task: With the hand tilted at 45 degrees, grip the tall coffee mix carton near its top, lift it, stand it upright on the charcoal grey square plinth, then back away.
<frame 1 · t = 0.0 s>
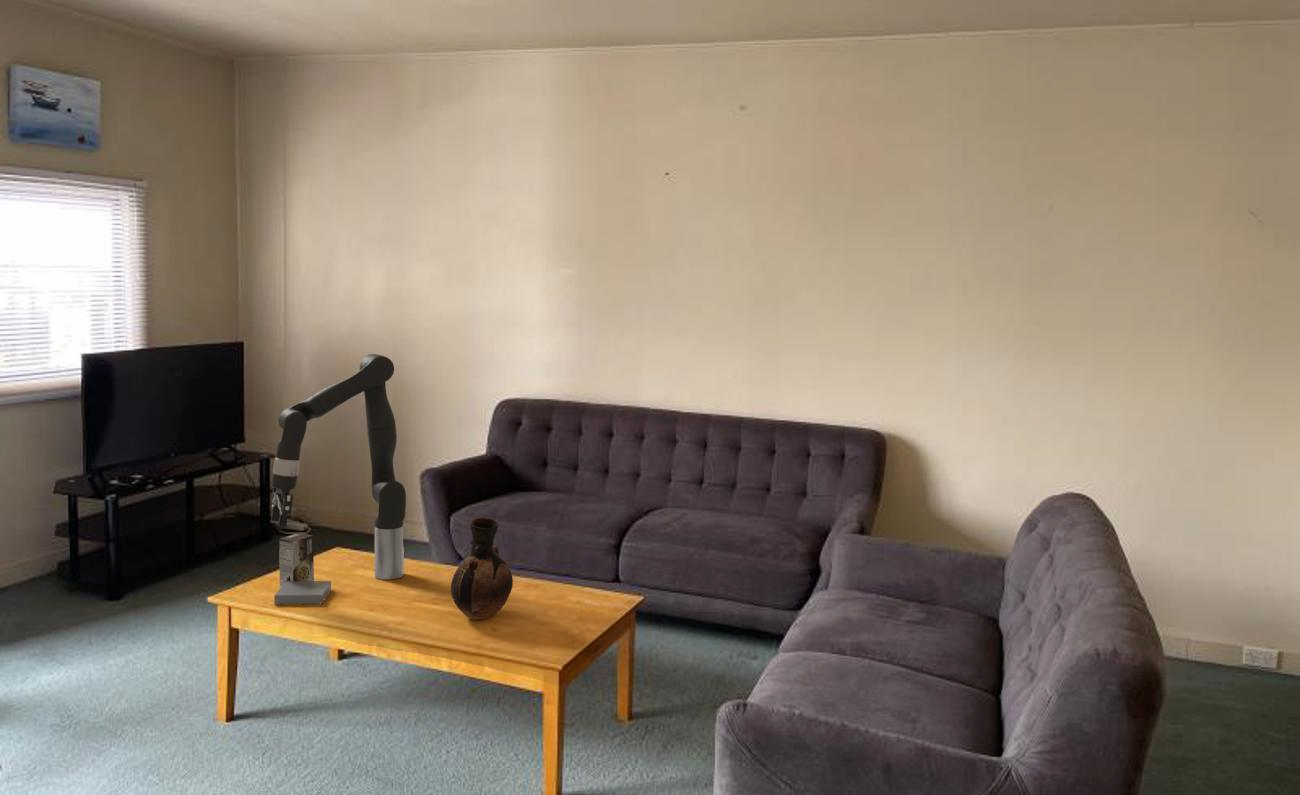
hand: (278, 523, 305), 22 cm above the table, tool pointing down, fingers open, 8 cm apart
plinth: (303, 597, 304), on the table
coffee box: (296, 585, 316), on the table
ceramic vessel: (481, 616, 292), on the table
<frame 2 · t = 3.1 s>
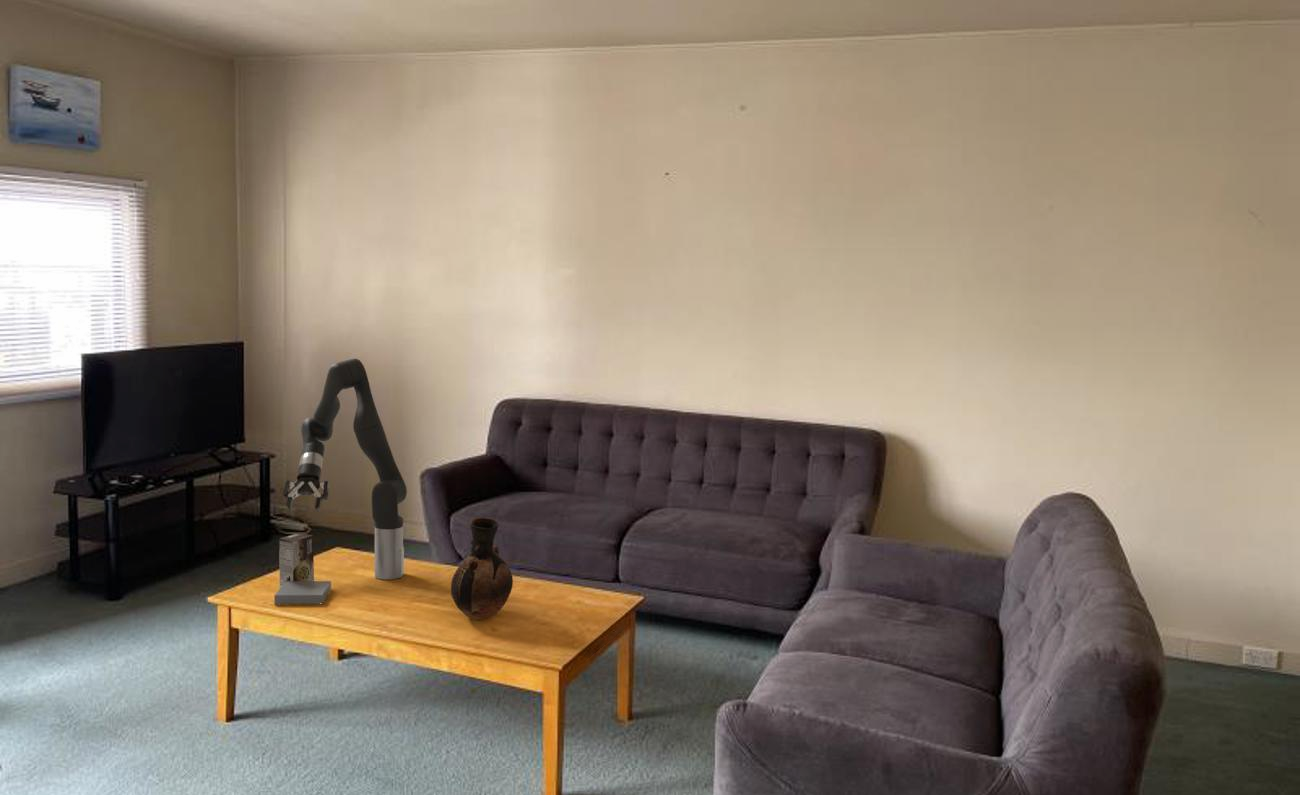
hand: (303, 508, 323), 23 cm above the table, tool tilted 45°, fingers open, 8 cm apart
nothing on the table moved.
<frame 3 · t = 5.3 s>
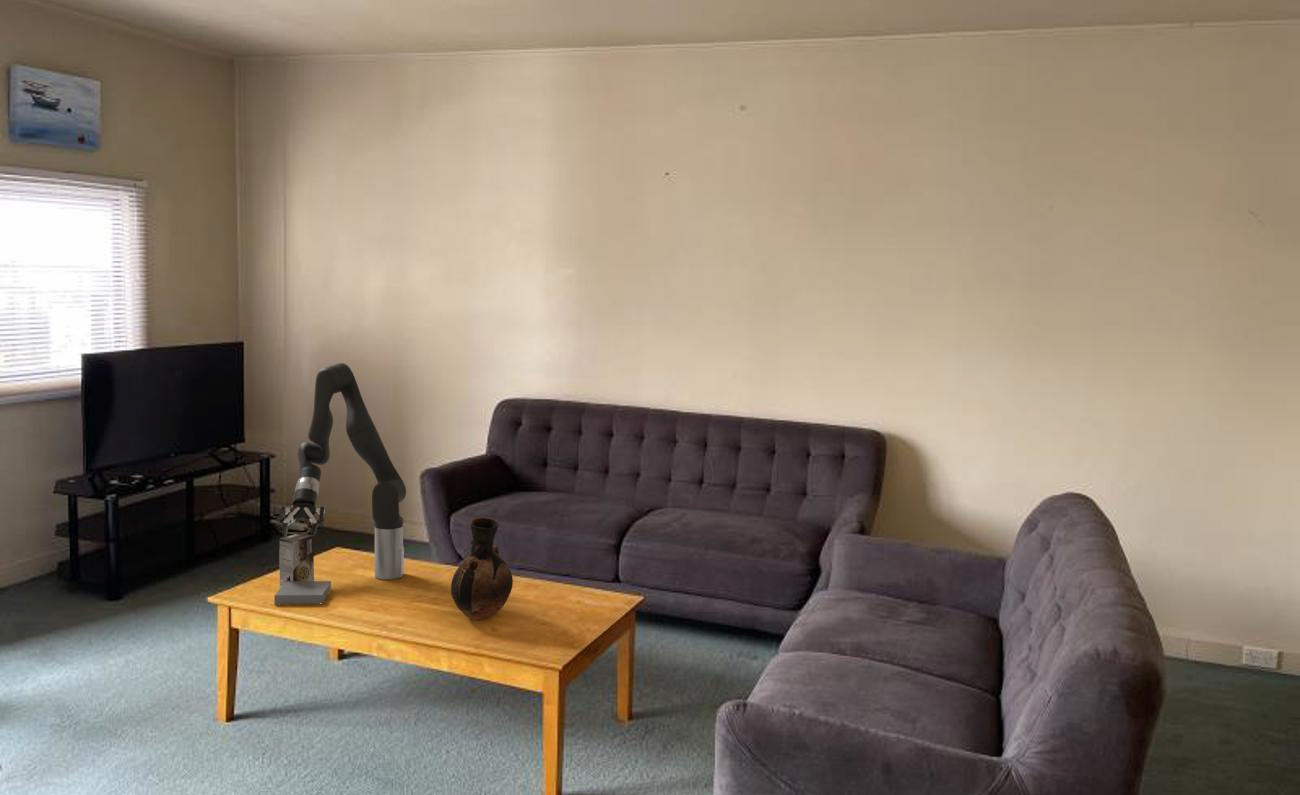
hand: (298, 535, 317), 16 cm above the table, tool tilted 45°, fingers open, 8 cm apart
coffee box: (296, 585, 316), on the table, touching gripper
everything else where it was.
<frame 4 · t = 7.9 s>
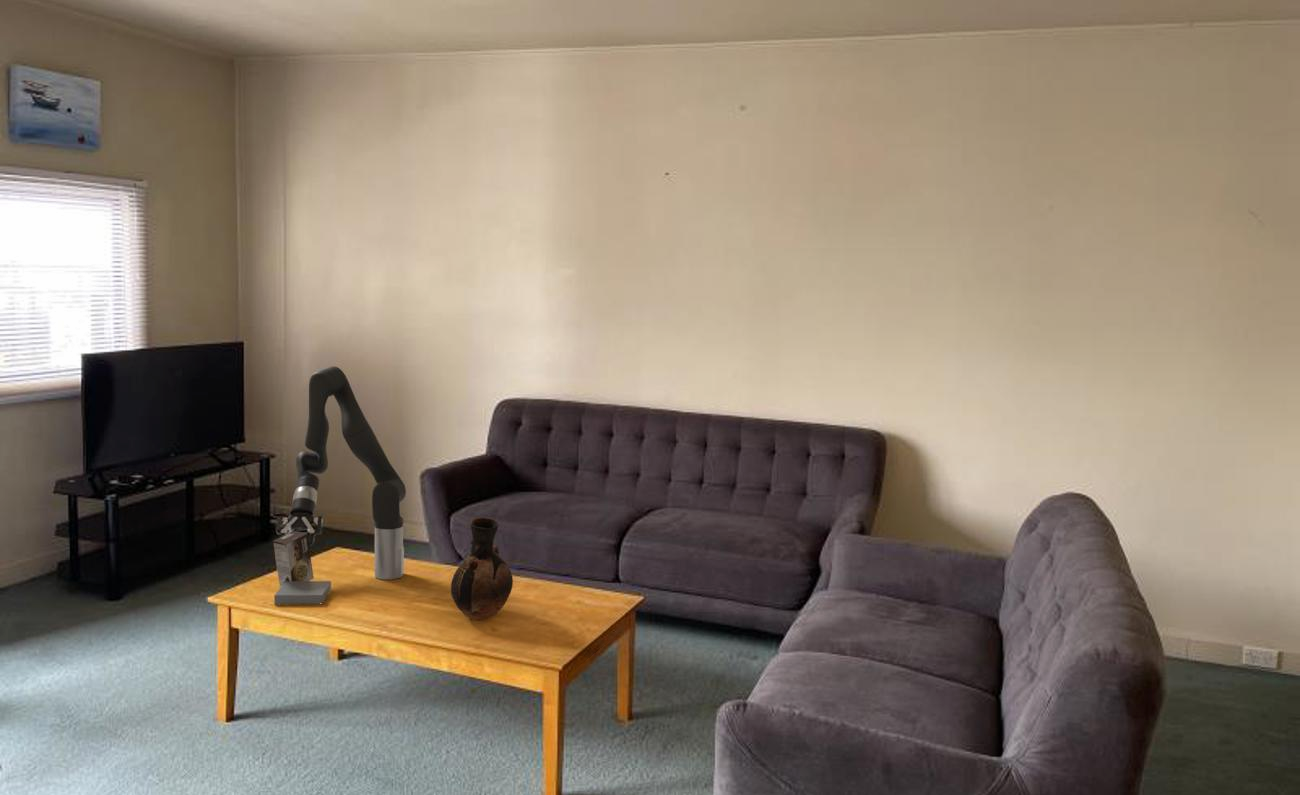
hand: (296, 545, 314), 13 cm above the table, tool tilted 45°, fingers closed on coffee box, 8 cm apart
coffee box: (296, 583, 316), on the table, touching gripper
everything else where it was.
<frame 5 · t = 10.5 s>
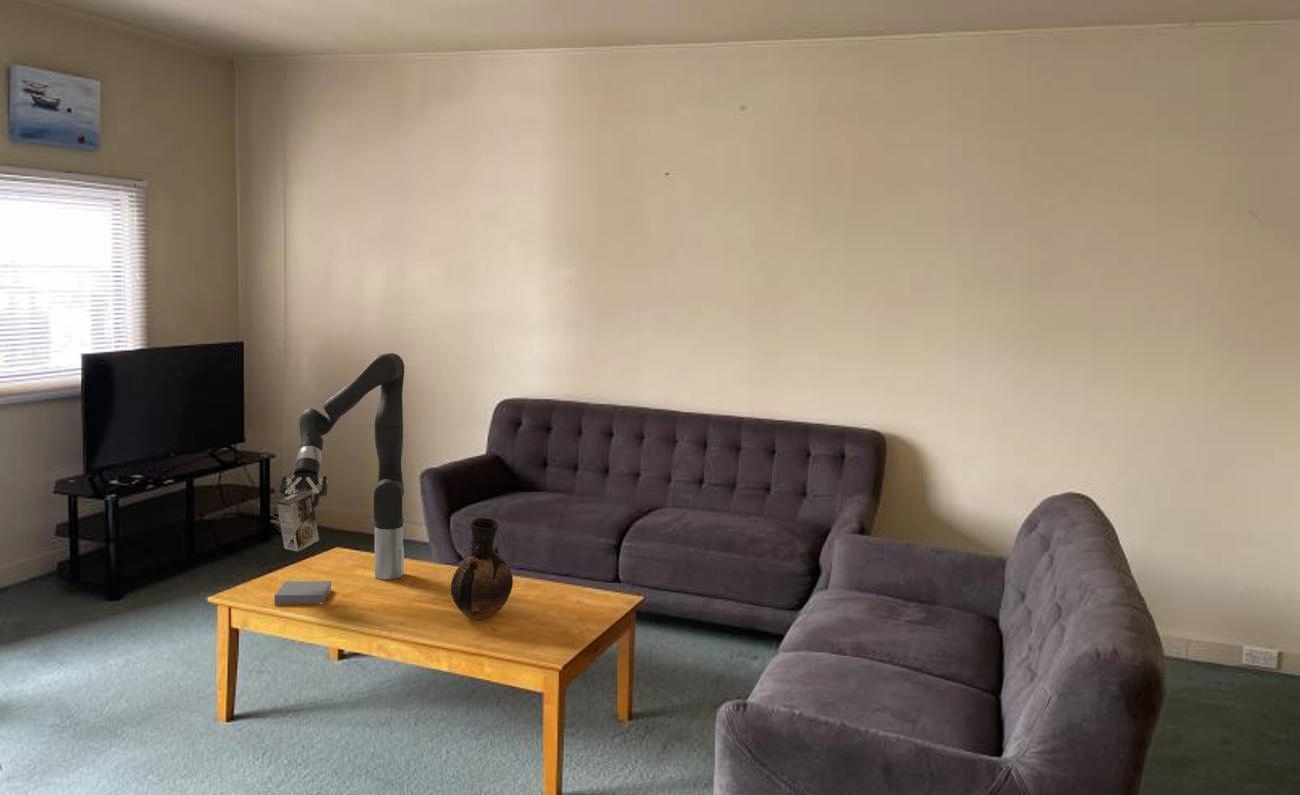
hand: (300, 506, 305), 28 cm above the table, tool tilted 45°, fingers closed on coffee box, 8 cm apart
coffee box: (302, 545, 306), point 15 cm above the table, touching gripper
everything else where it was.
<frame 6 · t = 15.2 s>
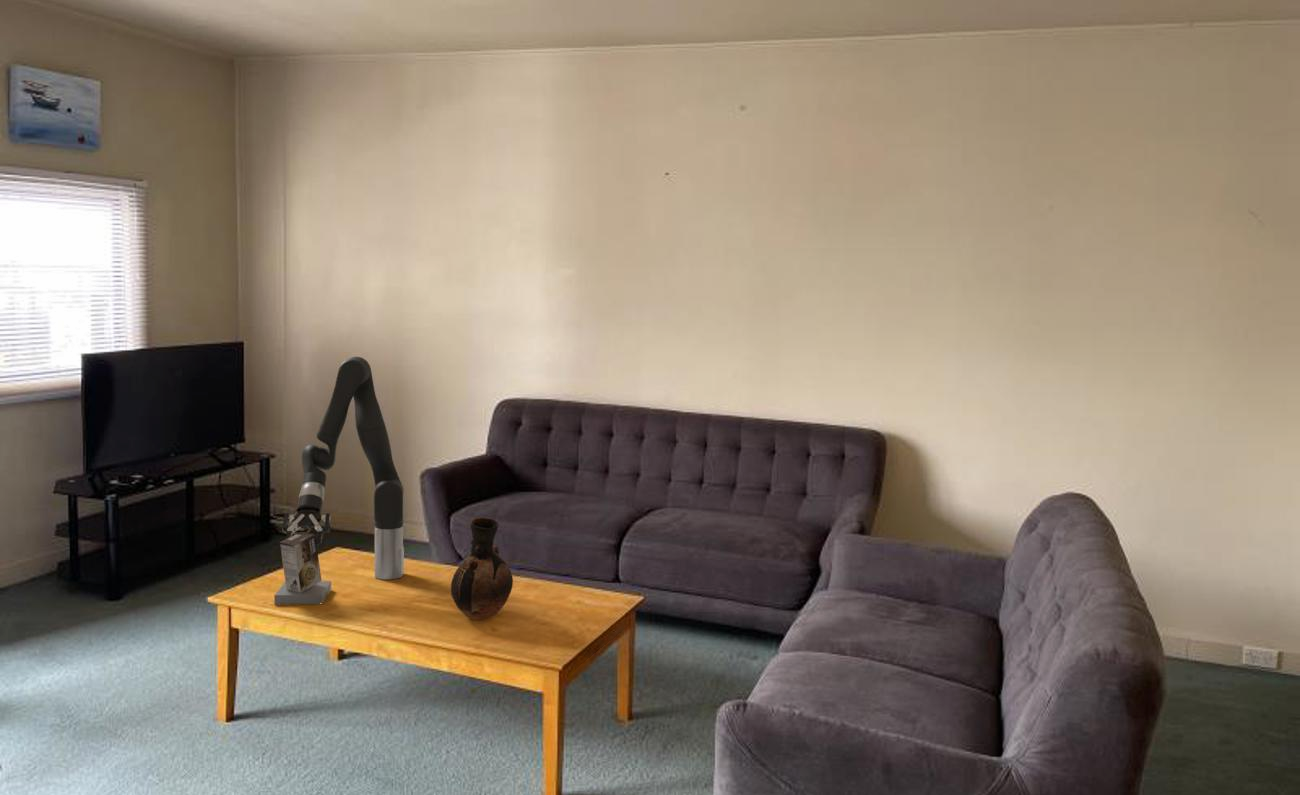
hand: (303, 543, 302), 17 cm above the table, tool tilted 45°, fingers closed on coffee box, 8 cm apart
coffee box: (304, 586, 304), point 4 cm above the table, touching gripper, plinth
everything else where it was.
when the fingers open (17 cm above the table, at t = 15.6 s): coffee box stays where it is, resting on plinth.
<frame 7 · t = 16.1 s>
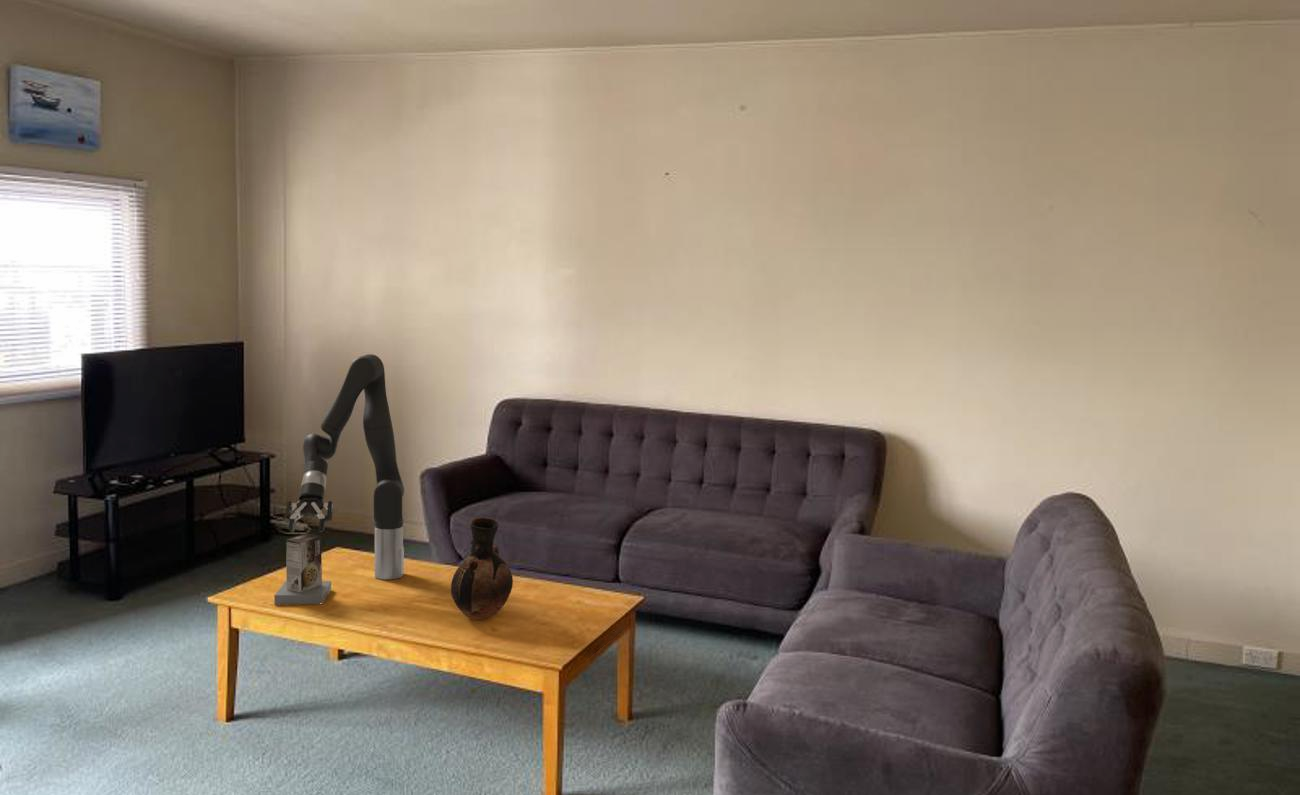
hand: (306, 531, 305), 20 cm above the table, tool tilted 45°, fingers open, 8 cm apart
coffee box: (304, 588, 304), point 3 cm above the table, touching plinth
everything else where it was.
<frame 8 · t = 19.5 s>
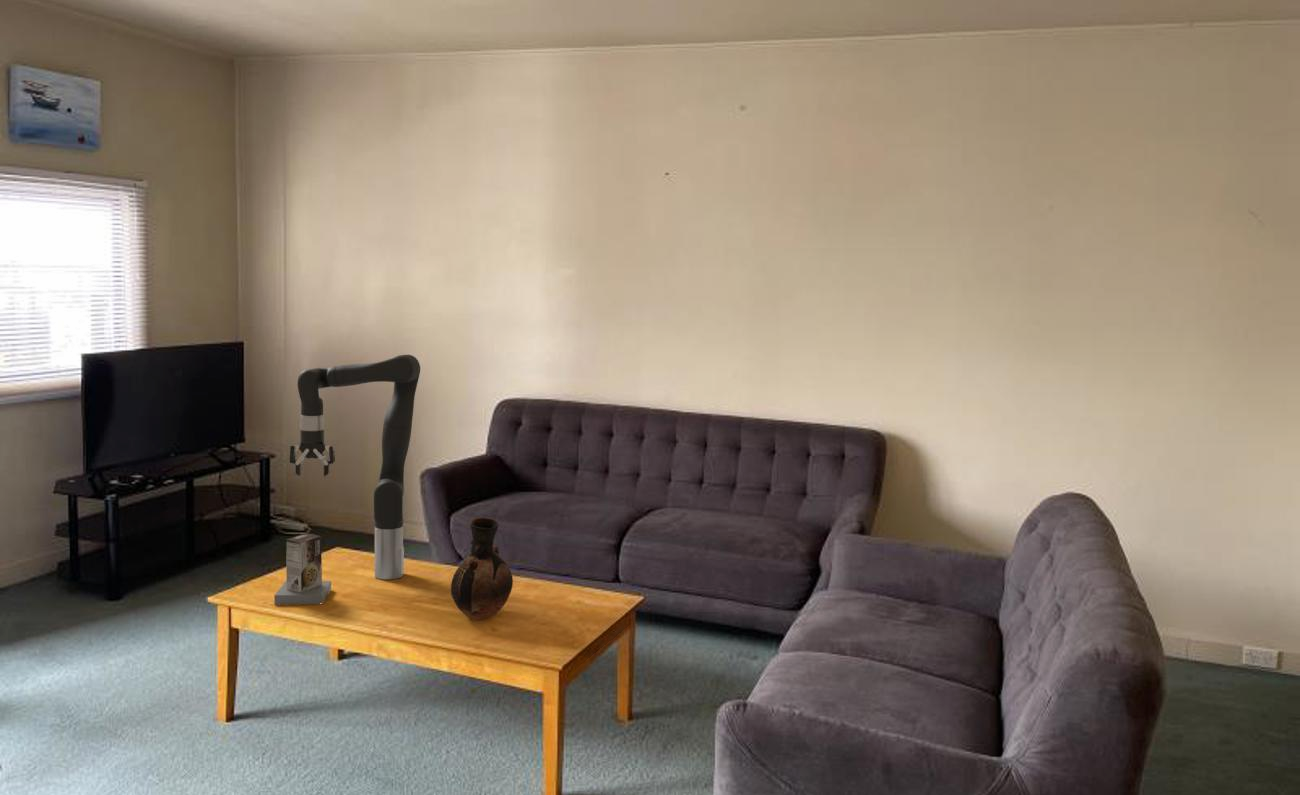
hand: (312, 475, 327), 33 cm above the table, tool pointing down, fingers open, 8 cm apart
nothing on the table moved.
at the end: coffee box inside the target area on the plinth (0.5 cm from its centre), point 2.8 cm above the plinth's base; coffee box tilted 0°; the gripper is holding nothing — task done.
